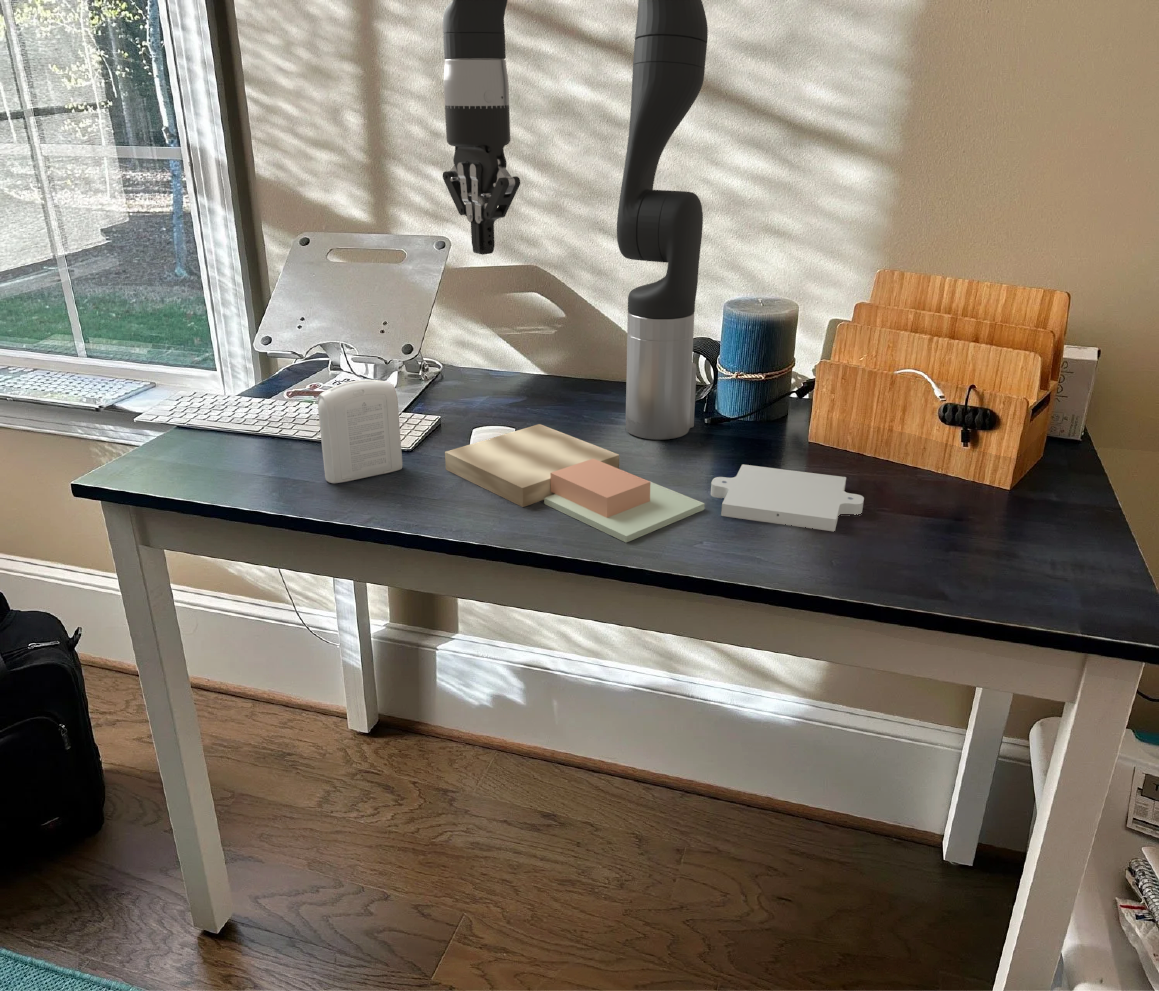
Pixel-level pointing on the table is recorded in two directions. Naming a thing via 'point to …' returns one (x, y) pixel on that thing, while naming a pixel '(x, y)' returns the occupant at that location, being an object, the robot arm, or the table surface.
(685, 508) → the mat
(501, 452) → the block
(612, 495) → the tile
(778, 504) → the mounting plate
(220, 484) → the table surface
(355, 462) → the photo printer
